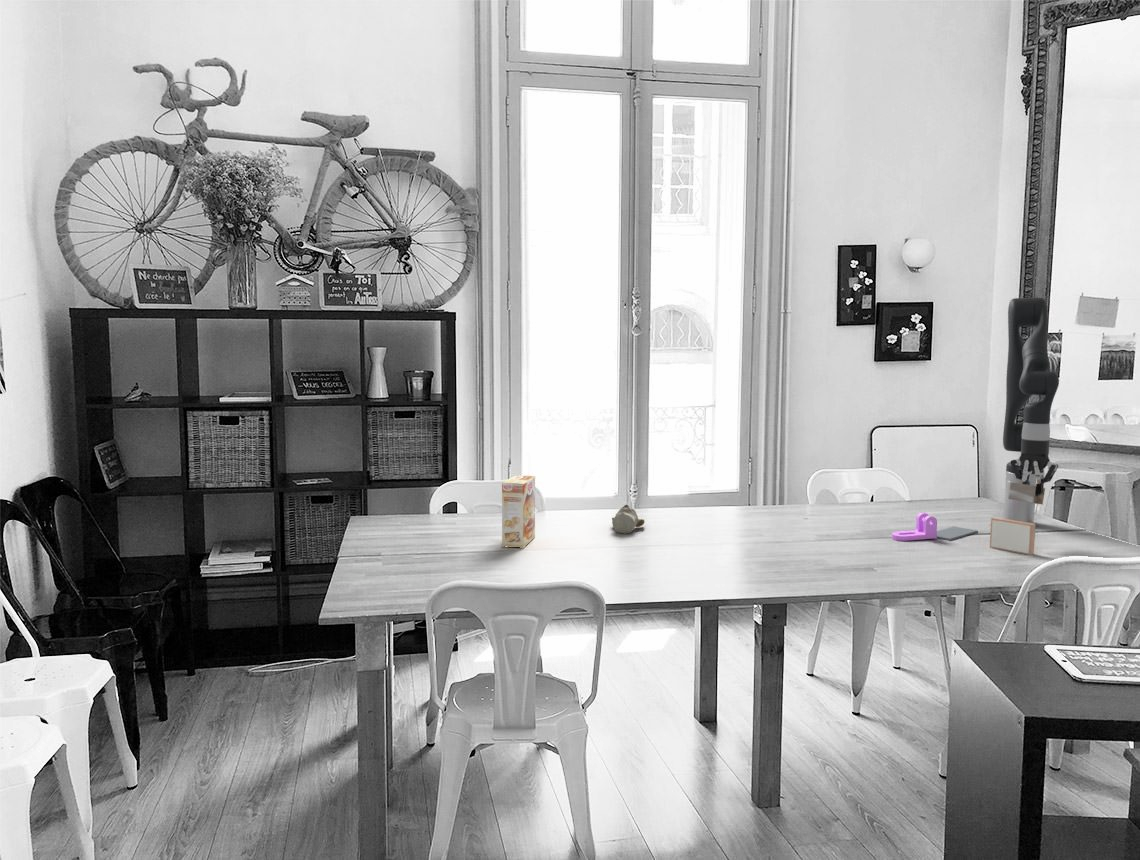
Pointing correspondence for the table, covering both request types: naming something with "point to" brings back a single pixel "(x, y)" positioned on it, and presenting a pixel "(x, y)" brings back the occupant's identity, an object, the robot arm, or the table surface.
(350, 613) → the table surface
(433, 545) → the table surface
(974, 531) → the mat
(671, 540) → the table surface
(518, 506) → the coffeecake box
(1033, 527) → the tile
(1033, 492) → the upright plank on base
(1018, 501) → the robot arm
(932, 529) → the bracket
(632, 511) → the ceramic sculpture
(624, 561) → the table surface
